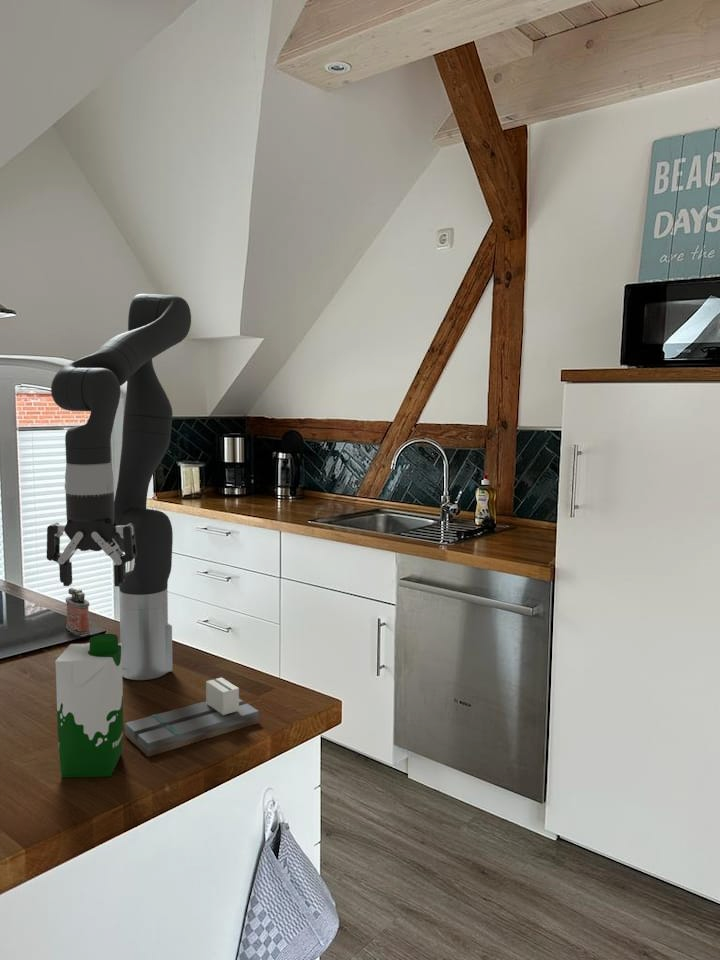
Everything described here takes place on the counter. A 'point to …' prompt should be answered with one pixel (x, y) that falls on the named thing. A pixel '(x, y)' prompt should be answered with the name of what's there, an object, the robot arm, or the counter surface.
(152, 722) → the slider panel
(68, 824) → the counter surface
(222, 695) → the slider knob
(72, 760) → the milk carton
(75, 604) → the lighter
